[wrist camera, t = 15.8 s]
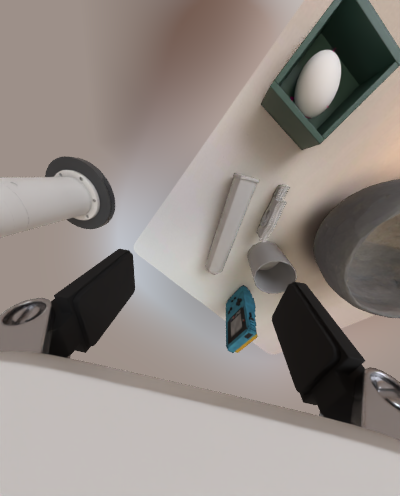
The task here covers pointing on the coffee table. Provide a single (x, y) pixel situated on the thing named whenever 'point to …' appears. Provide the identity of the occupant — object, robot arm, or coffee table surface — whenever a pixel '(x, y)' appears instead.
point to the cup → (270, 268)
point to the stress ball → (317, 83)
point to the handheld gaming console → (240, 320)
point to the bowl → (364, 249)
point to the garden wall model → (272, 213)
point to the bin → (352, 69)
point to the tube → (230, 221)
